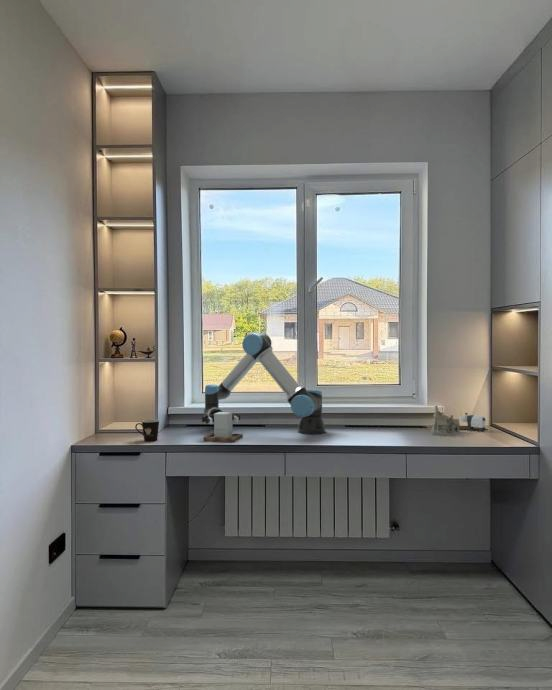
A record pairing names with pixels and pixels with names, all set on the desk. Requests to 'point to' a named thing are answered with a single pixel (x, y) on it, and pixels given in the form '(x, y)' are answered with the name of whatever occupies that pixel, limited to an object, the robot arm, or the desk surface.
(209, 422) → the robot arm
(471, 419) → the giant panda
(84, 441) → the desk surface
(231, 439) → the walnut tray
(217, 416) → the supplement box
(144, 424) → the coffee mug
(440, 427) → the ceramic cottage
